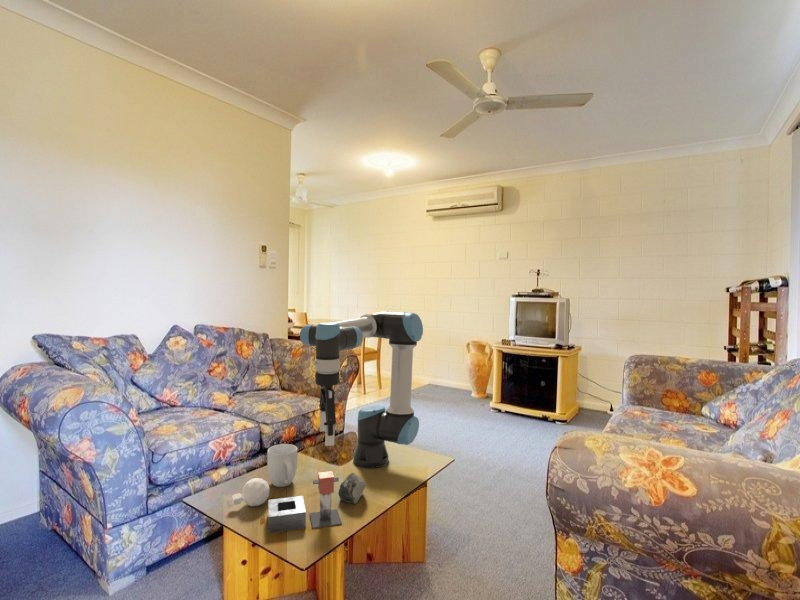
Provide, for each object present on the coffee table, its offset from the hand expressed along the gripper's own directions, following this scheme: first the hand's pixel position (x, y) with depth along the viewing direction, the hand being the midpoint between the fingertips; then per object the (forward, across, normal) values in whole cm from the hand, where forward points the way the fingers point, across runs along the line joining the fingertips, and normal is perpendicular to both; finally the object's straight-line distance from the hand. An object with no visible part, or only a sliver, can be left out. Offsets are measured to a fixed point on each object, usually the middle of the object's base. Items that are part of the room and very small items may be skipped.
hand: (326, 437), depth 138 cm
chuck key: (+26, 0, 0) cm, 26 cm away
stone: (+27, -10, +11) cm, 30 cm away
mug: (+26, -29, -12) cm, 41 cm away
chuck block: (+26, -2, -12) cm, 29 cm away
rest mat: (+26, 0, 0) cm, 26 cm away
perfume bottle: (+26, -16, -23) cm, 39 cm away
